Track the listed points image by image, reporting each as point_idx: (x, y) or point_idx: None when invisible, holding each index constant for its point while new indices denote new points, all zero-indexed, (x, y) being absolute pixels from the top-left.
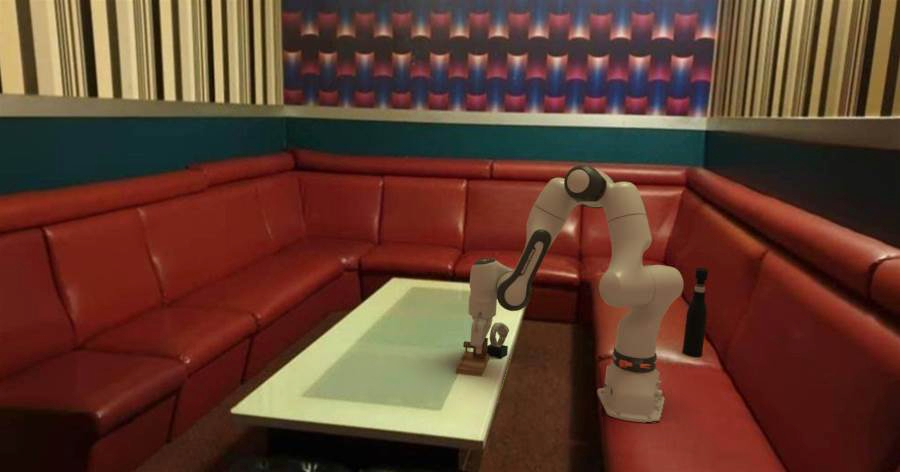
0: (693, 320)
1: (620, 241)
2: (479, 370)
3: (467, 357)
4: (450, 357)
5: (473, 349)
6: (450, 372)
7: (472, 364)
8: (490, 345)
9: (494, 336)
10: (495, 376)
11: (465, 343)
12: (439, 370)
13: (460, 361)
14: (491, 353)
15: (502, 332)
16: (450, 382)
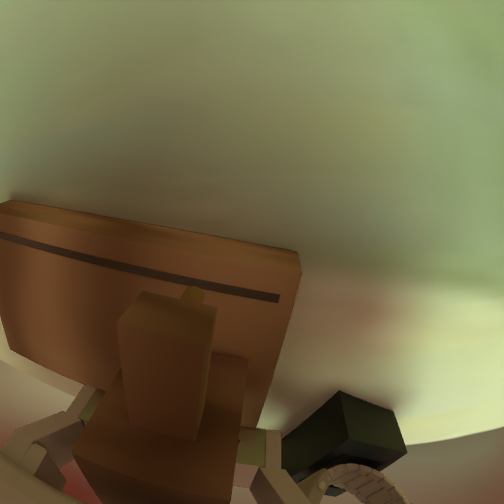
0: None
1: None
2: (8, 336)
3: (137, 291)
4: (267, 122)
5: (112, 383)
6: (13, 164)
7: (39, 314)
8: (357, 450)
9: None
10: (57, 384)
11: (120, 347)
12: (26, 91)
13: (49, 232)
14: (317, 424)
15: None
16: None
